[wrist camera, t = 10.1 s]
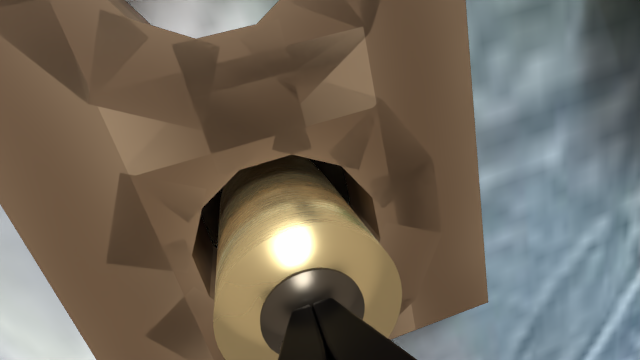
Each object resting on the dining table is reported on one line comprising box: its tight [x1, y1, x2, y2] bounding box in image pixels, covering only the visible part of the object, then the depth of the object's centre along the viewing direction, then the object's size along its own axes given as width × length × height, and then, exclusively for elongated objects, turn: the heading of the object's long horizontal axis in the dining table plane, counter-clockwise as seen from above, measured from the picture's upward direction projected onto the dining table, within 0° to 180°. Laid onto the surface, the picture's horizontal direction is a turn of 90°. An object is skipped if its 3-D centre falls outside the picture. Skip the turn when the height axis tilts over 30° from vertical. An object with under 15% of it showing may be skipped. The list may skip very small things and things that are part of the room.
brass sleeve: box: [213, 155, 402, 360], centre depth 10 cm, size 4×4×6 cm
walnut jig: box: [0, 0, 488, 360], centre depth 10 cm, size 12×18×3 cm
